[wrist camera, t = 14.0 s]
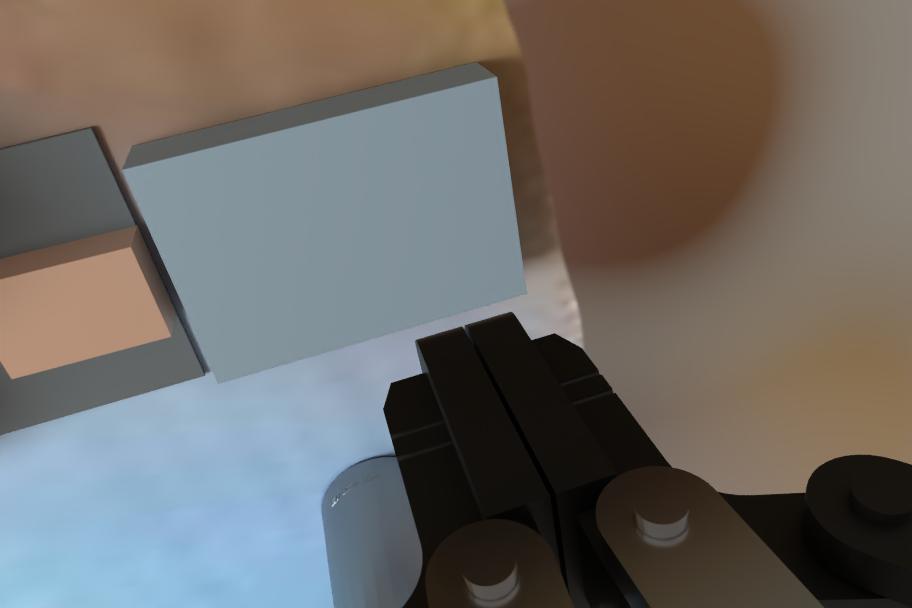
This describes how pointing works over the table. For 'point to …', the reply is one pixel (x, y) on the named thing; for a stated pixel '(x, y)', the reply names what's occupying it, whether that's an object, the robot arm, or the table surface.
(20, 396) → the mat
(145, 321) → the tan rectangular block
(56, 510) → the table surface
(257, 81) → the table surface
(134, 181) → the block
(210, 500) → the table surface
